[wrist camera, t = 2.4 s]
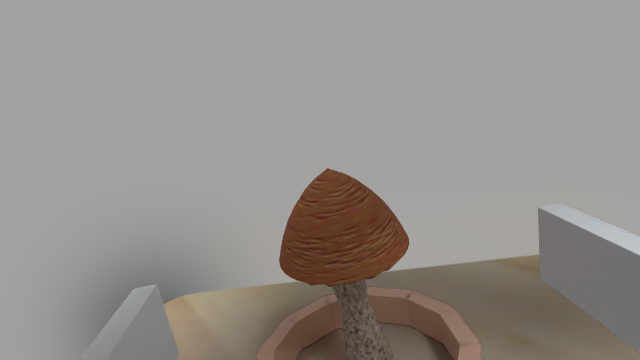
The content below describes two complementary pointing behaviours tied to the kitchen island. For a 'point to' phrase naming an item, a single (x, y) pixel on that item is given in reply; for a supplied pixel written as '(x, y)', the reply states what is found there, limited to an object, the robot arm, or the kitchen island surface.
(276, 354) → the ring
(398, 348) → the kitchen island surface
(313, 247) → the mushroom
